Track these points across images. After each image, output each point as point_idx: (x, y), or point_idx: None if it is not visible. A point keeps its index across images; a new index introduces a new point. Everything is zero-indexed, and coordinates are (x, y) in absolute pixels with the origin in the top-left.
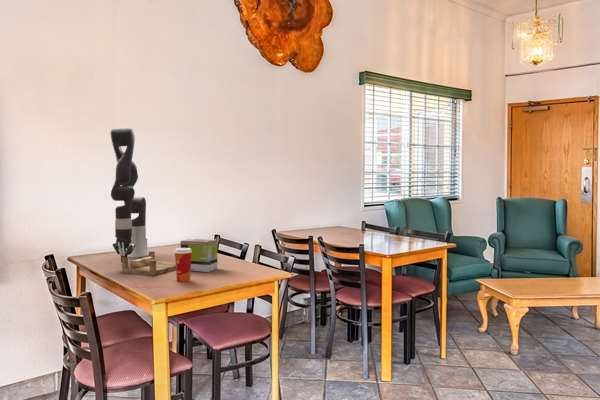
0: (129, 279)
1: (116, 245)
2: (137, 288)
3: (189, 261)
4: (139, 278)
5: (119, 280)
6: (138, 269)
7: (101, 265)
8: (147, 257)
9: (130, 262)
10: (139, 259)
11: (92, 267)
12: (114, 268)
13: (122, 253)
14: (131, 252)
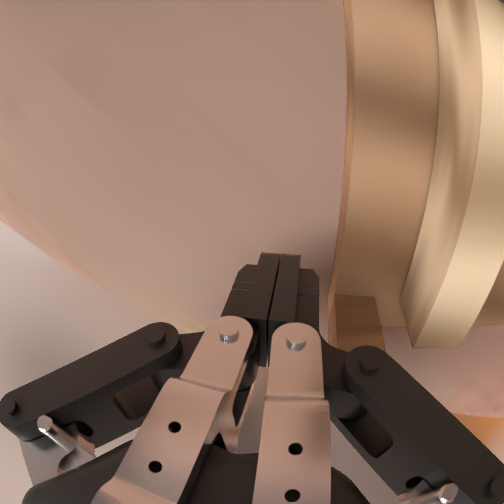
0: (456, 382)
1: (88, 457)
2: (497, 413)
3: None
4: (493, 357)
5: None
6: (481, 316)
7: (26, 184)
8: (499, 61)
9: (412, 336)
10: (480, 239)
11: (46, 247)
12: (151, 213)
13: (245, 388)
14: (410, 381)
